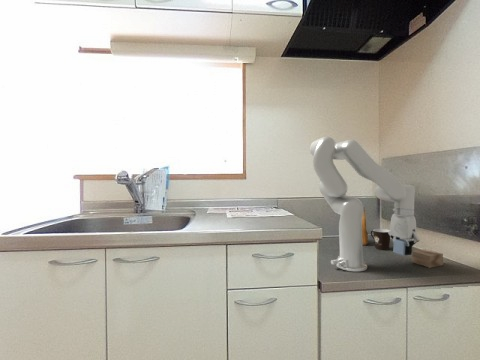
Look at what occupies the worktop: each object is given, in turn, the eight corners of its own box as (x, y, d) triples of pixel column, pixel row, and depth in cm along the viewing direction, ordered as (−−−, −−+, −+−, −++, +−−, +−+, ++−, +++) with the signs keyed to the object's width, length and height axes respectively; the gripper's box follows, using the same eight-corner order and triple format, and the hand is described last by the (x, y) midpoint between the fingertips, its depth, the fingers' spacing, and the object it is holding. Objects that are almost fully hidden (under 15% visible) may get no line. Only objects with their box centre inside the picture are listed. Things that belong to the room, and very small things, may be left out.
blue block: (403, 255, 114) (403, 241, 114) (393, 252, 119) (393, 239, 119) (411, 254, 116) (412, 241, 116) (401, 251, 121) (402, 238, 120)
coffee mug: (394, 251, 137) (393, 232, 137) (376, 250, 139) (375, 232, 139) (385, 245, 149) (385, 227, 149) (369, 245, 150) (369, 227, 150)
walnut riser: (429, 267, 112) (429, 256, 112) (412, 262, 120) (412, 251, 120) (443, 265, 115) (442, 253, 115) (425, 259, 123) (424, 249, 122)
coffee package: (366, 246, 147) (365, 207, 147) (343, 244, 154) (342, 207, 154) (369, 242, 155) (368, 205, 155) (347, 240, 162) (346, 205, 162)
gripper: (381, 210, 124) (380, 248, 124) (415, 215, 108) (414, 259, 108) (393, 209, 126) (392, 247, 127) (428, 215, 110) (427, 258, 110)
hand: (402, 252), depth 117 cm, fingers closed on blue block, 5 cm apart
